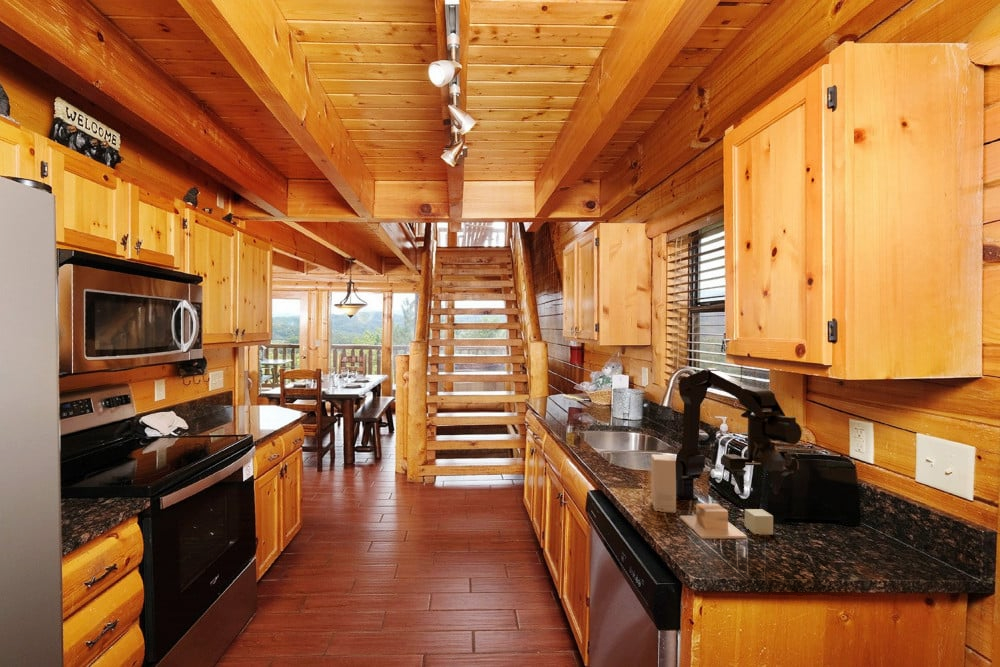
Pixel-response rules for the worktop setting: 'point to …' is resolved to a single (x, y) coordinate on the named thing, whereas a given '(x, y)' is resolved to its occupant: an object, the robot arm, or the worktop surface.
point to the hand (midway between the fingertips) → (758, 493)
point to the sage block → (758, 521)
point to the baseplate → (704, 533)
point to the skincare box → (663, 483)
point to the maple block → (712, 516)
